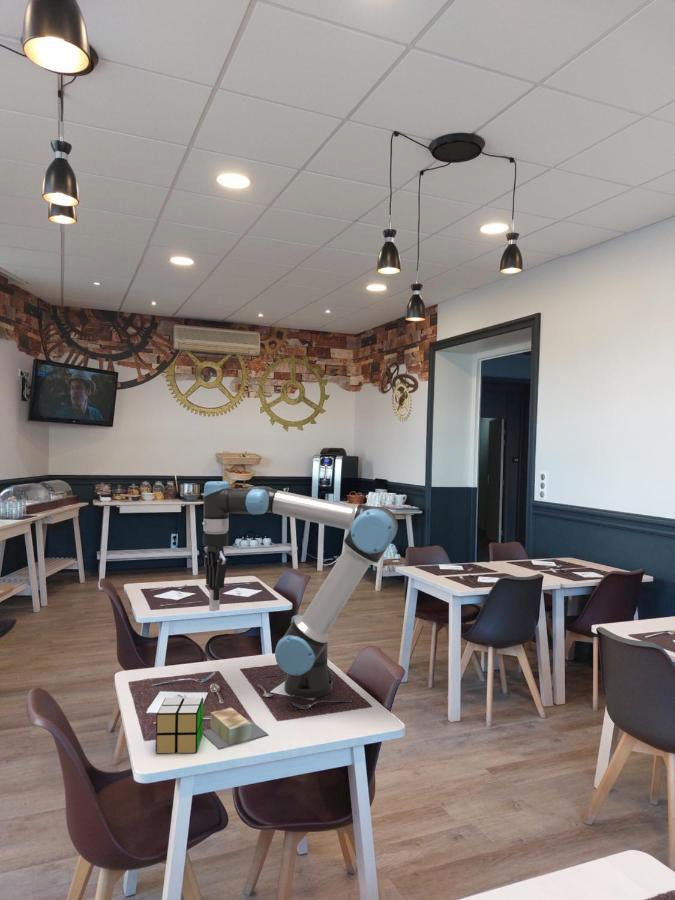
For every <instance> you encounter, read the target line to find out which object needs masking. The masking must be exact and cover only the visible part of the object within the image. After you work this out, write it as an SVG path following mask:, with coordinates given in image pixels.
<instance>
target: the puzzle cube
mask: <svg viewBox="0 0 675 900" xmlns="http://www.w3.org/2000/svg"><path fill="white" fill-rule="evenodd" d="M155 716H156V717H155V718H156V719H155V721H156V724H155V733H156V734H155V754H156V753H157V754H156V755H167V753H175V754H178V753H179V754H197V753H198V751H199V747H200V744H201V741H202V738H203V736H204V735H203V731H204V698H203V697H166V698H164V699H163V701H162V704H161V705H160V707H159V709H158V711H157V712H156V715H155ZM158 753H159V754H158ZM163 753H165V754H163Z"/></svg>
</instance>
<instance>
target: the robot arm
mask: <svg viewBox="0 0 675 900" xmlns="http://www.w3.org/2000/svg"><path fill="white" fill-rule="evenodd" d="M229 483H230V482H228V481H222V480H221V481H218V480H217V481H216V480H214V481H206V483H204V487H203V488H204V489H203V521H202V522H201V523H202V526H203V528H202V529H203V534H202V545H203V546H205V547H207V549H206V552H203V554H202V556H203V559H204V571H205V573H204V574H205V584H206V585H207V586H208V589H209V595H208V596H209V598H208V599H209V601H208V602H209V604H208V606H209V607H208V608H209V609H208V610H209V611H210V612H216V611H220V610H221V609H220V608H221V607H220V604H221V603H220V602H221V601H220V599H221V594H220V593H221V589H223V588H224V586H225V580H226V571H227V565H228V561H229V558H228V557H225V550H224V547H226V546H228V545H229V533H228V531H229V519H230V518H229V515H230V514H240V515H241V514H242V515H253V516H254V515H264V514H265V513H271V514H277V515H281V516H284V517H289V518H293V519H298V520H301V521H307V522H311V523H315V524H316V523H317V524H318V525H319V524H320V525H323V526H329V527H334V528H337V529H342V530H346V531H348V533H347V535H346V536H345V538H344V540H343V545H344V550H343V551H342V553H341V554H340V556H339V558H338V559H337V561H336V562H335V563H334V566H332V569H331V570H330V572H329V573H328V575H327V577H326V579H325V580H324V582H323V583H322V584H321V586H320V588H319V590H318V591H317V592H316V594H315V595H314V597H313V599H312V600H311V602H310V604H309V605H308V607H307V609H306V610H305V611H304V612H303V614H295V615H293V616H292V617H291V619H290V620H291V621H290V625H289V627H288V628H287V631H286V632H285V634H284V635H283V637H281V638H280V639H279V640H278V642H277V644H276V646H275V649H274V650H275V651H274V657H275V660H276V663H277V665H278V666H279V668H280V669H281V670H282V671H283V672H285V673H286V674H287V675H286V678H285V679H284V691H285V692H286V693H287V694H289V695H290V694H291V695H290V696H292V695H294V696H293V697H296V696H297V698H302V699H303V698H304V699H305V698H306V699H311V698H312V699H313V698H319V697H324V696H327V695H329V694H330V693H332V692H333V688H334V687H333V684H334V683H333V679H332V678H333V677H332V675H331V673H330V669H329V665H328V658H329V656H328V650H329V649H328V648H329V647H328V646H329V643H328V642H329V639H330V638H329V630H330V629H331V627H332V626H333V624H334V622H335V621H336V619H337V618H338V616H339V614H340V613H341V611H342V610H343V608H344V607H345V605H346V604H347V602H348V600H349V598H350V597H352V596H351V595H352V594H353V593H354V591H355V589H356V587H357V586H358V585H359V583H360V581H361V579H362V578H363V576H364V575H365V574H366V572H367V571H368V569H369V568H370V565H376V564H378V563H379V562H380V560H381V558H382V557H383V555H384V554H385V552H386V551H387V549H388V547H389V546H390V545H391V543H392V542H393V540H394V539H395V537H397V536H396V535H397V533H398V530H399V529H398V527H399V524H398V520H397V517H396V516H395V514H394V513H393V512H392V511H391V510H390V509H388V508H387V507H384V506H376V505H375V506H373V505H366V504H360V503H357V504H355V505H349V504H346V503H345V504H344V503H341V502H336V501H330V500H326V499H322V498H321V499H320V498H316V497H311V496H307V495H303V494H302V495H301V494H297V493H293V492H289V491H288V492H287V491H283V490H278V489H273V488H271V486H270V487H269V486H264V485H262V486H256V487H250V488H231V487H230V484H229Z"/></svg>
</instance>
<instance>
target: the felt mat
mask: <svg viewBox="0 0 675 900" xmlns="http://www.w3.org/2000/svg"><path fill="white" fill-rule="evenodd" d="M246 720H248V721H249V722H250V723H251V739H250V740H246V741H243V742H239V743H236V744H232V745H229V744H228V743H227V742H226V741H225V740H224V739H223V738H221V737H220V736H219V735H218V734H217V733H216V732H215V731H214V730H213V729H212V728H210V729H206V730H203V735H202V736H204V737H205V738H206V739H207V740H208V741H209V742H210V743H212V745H214V746H215V748H217V749H218V750H223V749H225V748H226V749H227V748H230V747H232V746H236V745H237V746H238V745H239V744H243V743H246V742H251V741H252V740H253V741H254V740H257V739H261V738H263V737H268V736H269V734H268V732H266V731H265V730H264V729H263V728H261V727H260V726H258V725H257V724H256V723H255V722H253V721H252V720H251V719H250V718H248V719H247V718H246Z"/></svg>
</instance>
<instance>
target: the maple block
mask: <svg viewBox="0 0 675 900" xmlns="http://www.w3.org/2000/svg"><path fill="white" fill-rule="evenodd" d="M210 729H213V730H214V731H215V732H216V733H217V734H218V735H219V736H220V737H221V738H223V739H224V740H225V741H226V742H227V743H228V744H229V745H232V744H236V743H239V742H243V741H246V740H250V739H251V723H250V722H249V721H248V720H247V718H245V717H244V716H243V715H242V714H241V713H239V712H238V711H236V710H235V709H234V708H233V707H228V708H227V707H226V708H222V709H219V710H215V711H212V712H210ZM250 741H251V740H250ZM243 743H244V742H243Z"/></svg>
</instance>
